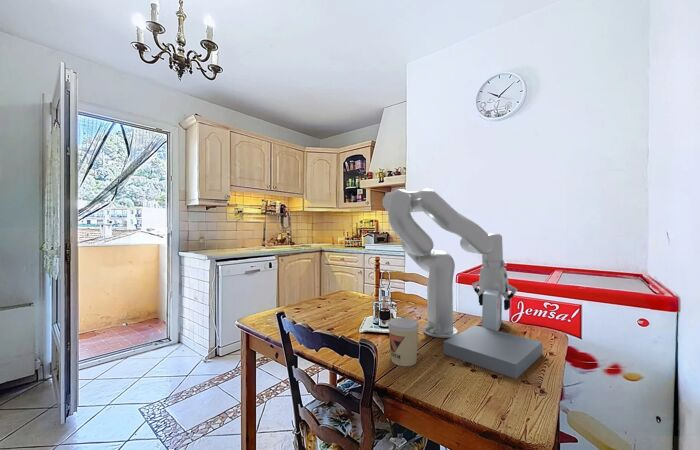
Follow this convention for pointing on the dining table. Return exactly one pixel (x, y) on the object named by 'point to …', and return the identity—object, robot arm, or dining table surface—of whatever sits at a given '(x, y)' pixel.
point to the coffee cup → (403, 341)
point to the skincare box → (492, 309)
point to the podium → (494, 350)
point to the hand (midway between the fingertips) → (494, 307)
